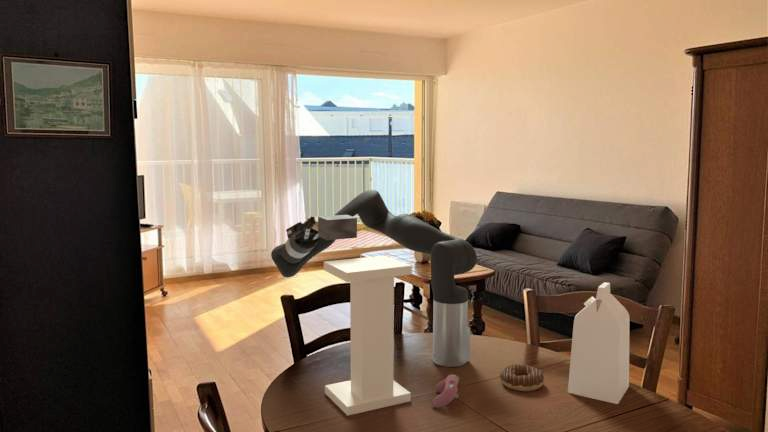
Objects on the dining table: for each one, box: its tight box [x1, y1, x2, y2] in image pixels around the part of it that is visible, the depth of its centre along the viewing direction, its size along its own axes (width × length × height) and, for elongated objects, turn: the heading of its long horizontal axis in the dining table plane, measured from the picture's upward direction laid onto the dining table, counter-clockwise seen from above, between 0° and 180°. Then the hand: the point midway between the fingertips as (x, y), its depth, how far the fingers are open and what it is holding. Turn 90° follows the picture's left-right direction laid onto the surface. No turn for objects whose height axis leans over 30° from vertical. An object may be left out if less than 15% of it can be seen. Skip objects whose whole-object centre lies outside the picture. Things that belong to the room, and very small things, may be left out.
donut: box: [499, 363, 545, 392], centre depth 151 cm, size 11×11×4 cm
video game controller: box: [431, 373, 461, 409], centre depth 141 cm, size 10×5×7 cm, turn 169°
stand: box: [323, 254, 413, 416], centre depth 141 cm, size 16×13×32 cm
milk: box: [567, 281, 630, 405], centre depth 146 cm, size 12×12×26 cm
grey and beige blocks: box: [306, 214, 358, 241], centre depth 160 cm, size 8×21×5 cm, turn 27°
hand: (319, 219), depth 163 cm, fingers closed on grey and beige blocks, 3 cm apart
